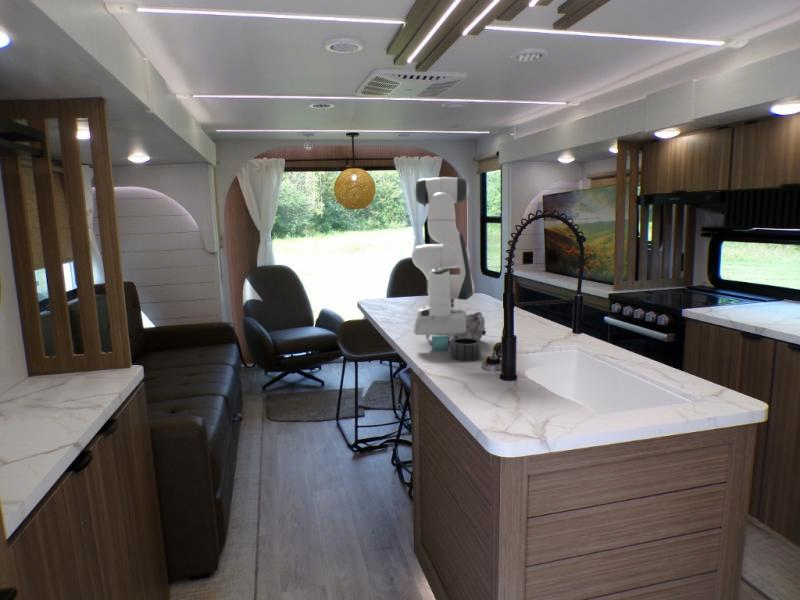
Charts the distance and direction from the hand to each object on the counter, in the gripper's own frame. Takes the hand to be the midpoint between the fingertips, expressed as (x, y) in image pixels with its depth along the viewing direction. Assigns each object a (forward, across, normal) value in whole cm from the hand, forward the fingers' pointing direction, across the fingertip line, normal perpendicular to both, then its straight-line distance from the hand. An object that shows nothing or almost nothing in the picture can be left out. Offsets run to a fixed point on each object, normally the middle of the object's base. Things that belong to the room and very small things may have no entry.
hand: (439, 345), depth 209 cm
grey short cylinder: (+2, -8, +13) cm, 15 cm away
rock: (+2, -13, -11) cm, 17 cm away
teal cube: (+2, 0, 0) cm, 2 cm away
